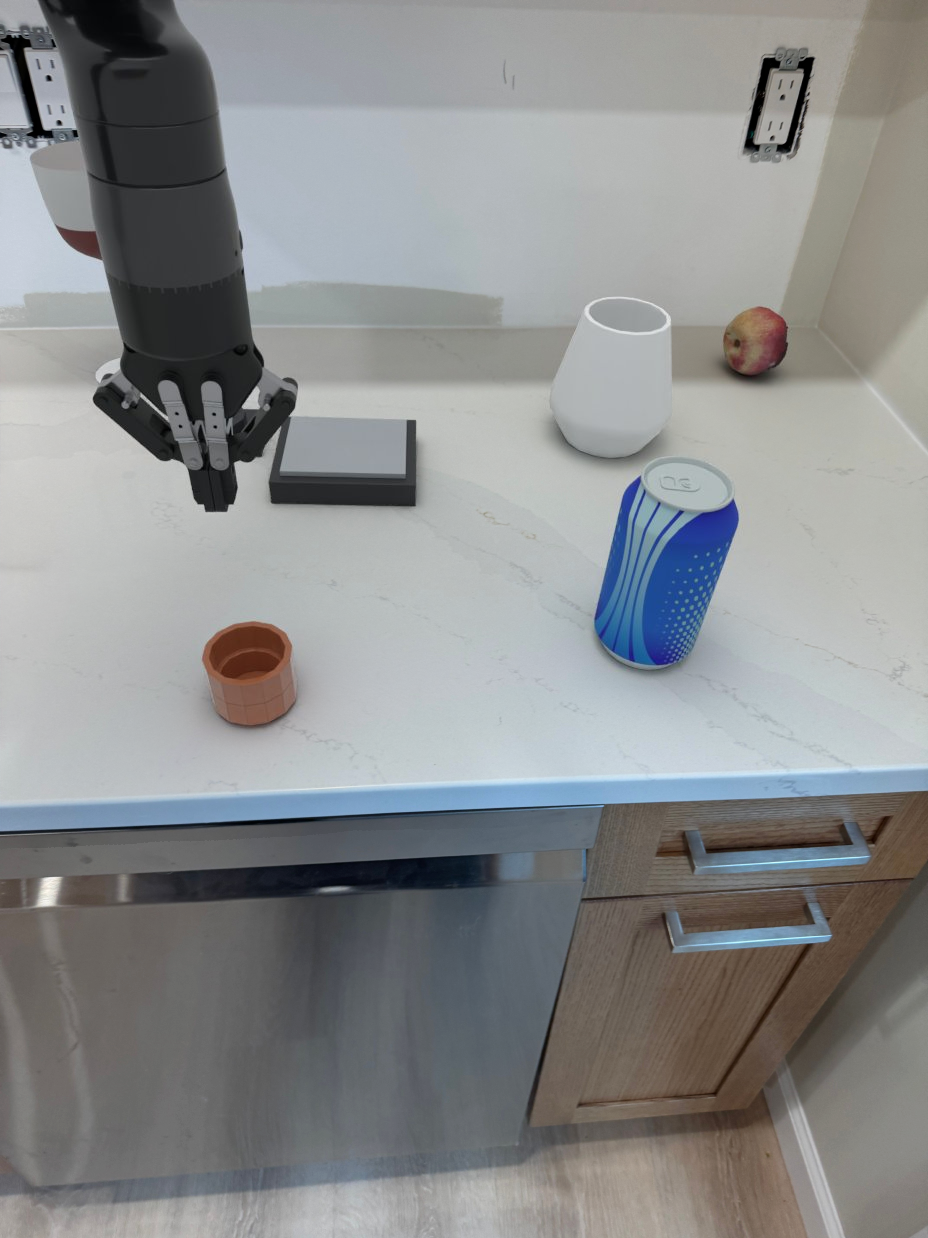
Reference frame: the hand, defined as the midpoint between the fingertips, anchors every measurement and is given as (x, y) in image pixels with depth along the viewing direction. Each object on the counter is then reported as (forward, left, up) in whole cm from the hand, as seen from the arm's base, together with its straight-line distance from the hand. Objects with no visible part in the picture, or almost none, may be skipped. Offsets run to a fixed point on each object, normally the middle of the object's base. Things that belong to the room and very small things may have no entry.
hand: (218, 505), depth 58 cm
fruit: (+56, +48, -13) cm, 75 cm away
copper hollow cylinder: (+2, -7, -13) cm, 15 cm away
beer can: (+33, 0, -13) cm, 35 cm away
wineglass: (-19, +43, -13) cm, 48 cm away
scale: (+7, +24, -13) cm, 28 cm away
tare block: (-7, +30, -13) cm, 33 cm away
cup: (+35, +32, -13) cm, 49 cm away
